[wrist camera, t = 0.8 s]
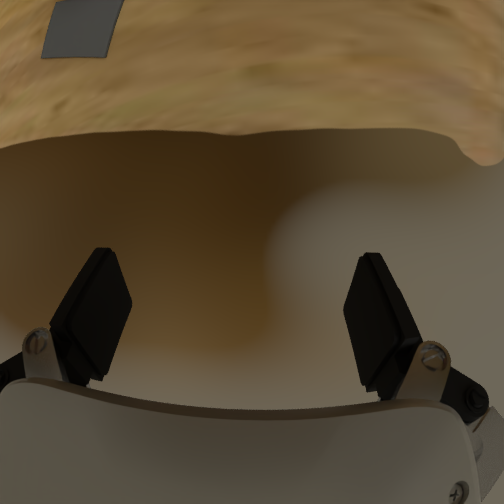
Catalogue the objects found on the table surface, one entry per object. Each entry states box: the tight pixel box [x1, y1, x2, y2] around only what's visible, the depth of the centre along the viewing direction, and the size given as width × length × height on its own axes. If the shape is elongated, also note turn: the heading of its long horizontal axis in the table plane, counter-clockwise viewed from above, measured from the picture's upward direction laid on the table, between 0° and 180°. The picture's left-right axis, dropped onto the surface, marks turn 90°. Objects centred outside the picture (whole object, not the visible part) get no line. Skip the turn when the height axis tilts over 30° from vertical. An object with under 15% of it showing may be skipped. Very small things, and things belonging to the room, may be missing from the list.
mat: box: [41, 0, 124, 58], centre depth 23 cm, size 10×13×1 cm
